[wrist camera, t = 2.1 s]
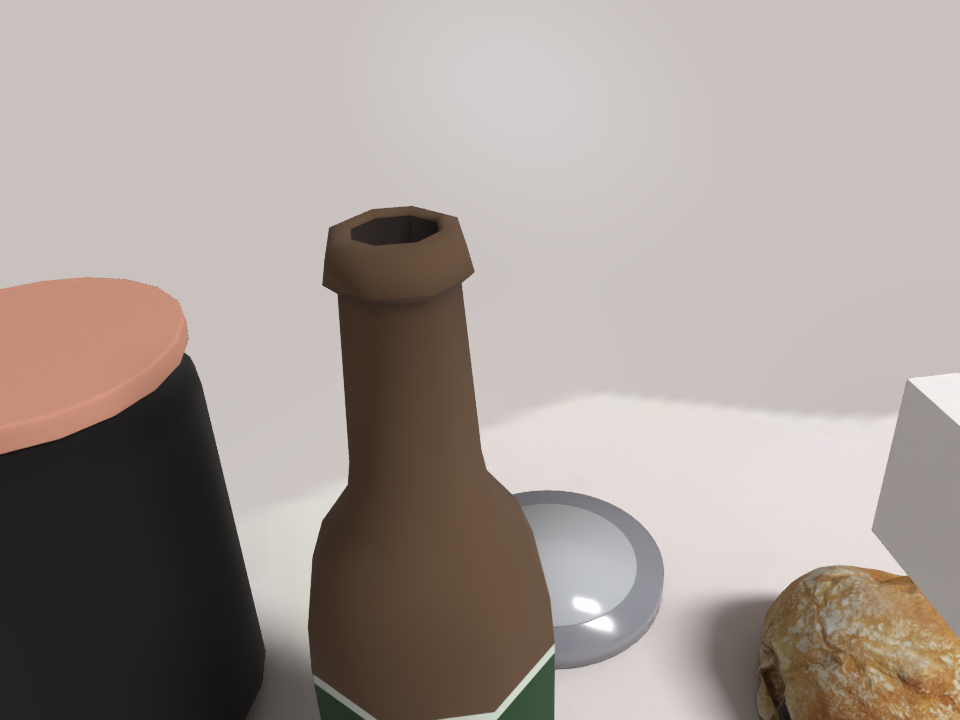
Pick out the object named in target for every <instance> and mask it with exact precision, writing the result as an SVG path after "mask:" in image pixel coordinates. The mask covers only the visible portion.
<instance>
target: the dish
mask: <svg viewBox="0 0 960 720" xmlns="http://www.w3.org/2000/svg"><path fill="white" fill-rule="evenodd" d="M513 496H514V497H515V498H516V499H517V500H518V502H519V504H520V506H521V508H522V510H523V512H524V514H525V516H526V519H527V521H528V523H529V525H530V527H531V529H532V531H533V534H534V538H535V542H536V545H537V549H538V553H539V557H540V561H541V565H542V568H543V572H544V576H545V580H546V584H547V588H548V591H549V595H550V600H551V610H552V620H553V630H554V640H555V669H568V668H576V667H582V666H588V665H591V664H595V663H598V662H602V661H604V660H606V659H609V658H611V657H614V656H616V655H618V654H619V653H621V652H623V651H625V650H626V649H628V648H629V647H631V646H632V645H633V644H634V643H636V642H637V641H638V640H639V639H640V638H641V637H642V636H643V635H644V634H645V633H646V632H647V631H648V629H649V628H650V626H651V625H652V624H653V622H654V620H655V618H656V616H657V614H658V612H659V608H660V604H661V601H662V590H663V579H664V567H663V560H662V557H661V554H660V551H659V548H658V546H657V544H656V542H655V541H654V539H653V538H652V536H651V535H650V534H649V532H648V531H647V530H646V529H645V528H644V527H643V526H642V525H641V524H640V523H639V522H638V521H637V520H636V519H634V518H633V517H632V516H631V515H629V514H628V513H626V512H625V511H623V510H622V509H620V508H618V507H616V506H614V505H612V504H610V503H608V502H605V501H603V500H600V499H597V498H594V497H591V496H587V495H583V494H578V493H573V492H565V491H548V490H546V491H531V492H523V493H518V494H513Z"/></svg>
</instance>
